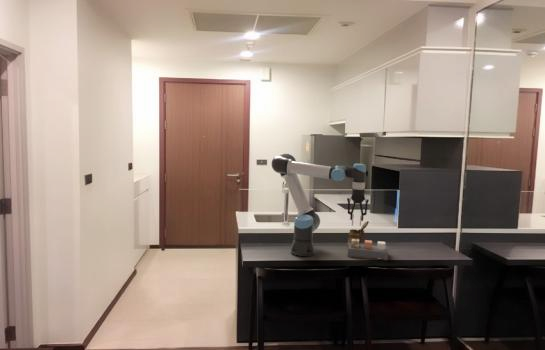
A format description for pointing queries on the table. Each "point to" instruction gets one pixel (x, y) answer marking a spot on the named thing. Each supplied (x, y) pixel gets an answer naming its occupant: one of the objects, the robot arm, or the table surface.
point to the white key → (381, 245)
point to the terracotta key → (368, 244)
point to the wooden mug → (357, 234)
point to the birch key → (355, 243)
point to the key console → (367, 252)
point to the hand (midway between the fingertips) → (356, 225)
